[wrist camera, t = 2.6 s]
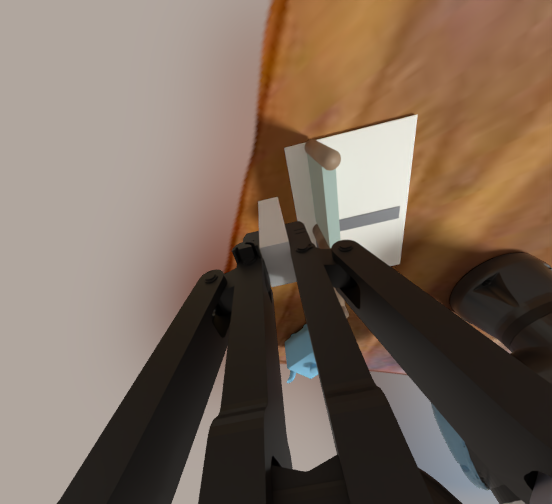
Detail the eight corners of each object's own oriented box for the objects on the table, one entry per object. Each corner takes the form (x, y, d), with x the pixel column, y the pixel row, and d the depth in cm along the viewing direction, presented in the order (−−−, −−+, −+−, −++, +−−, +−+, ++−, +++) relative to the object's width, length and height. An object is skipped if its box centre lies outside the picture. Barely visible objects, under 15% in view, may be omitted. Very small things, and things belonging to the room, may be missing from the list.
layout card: (398, 262, 36) (400, 264, 35) (308, 281, 37) (309, 283, 36) (415, 114, 24) (418, 114, 24) (284, 147, 25) (284, 148, 25)
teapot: (294, 355, 48) (299, 392, 42) (273, 345, 46) (275, 383, 40) (335, 327, 44) (348, 363, 37) (314, 314, 41) (324, 351, 35)
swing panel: (325, 218, 30) (345, 250, 23) (314, 221, 30) (330, 253, 23) (317, 137, 24) (340, 147, 18) (303, 141, 24) (320, 152, 18)
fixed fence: (333, 277, 36) (352, 319, 29) (319, 280, 36) (334, 322, 29) (328, 220, 30) (350, 254, 23) (311, 224, 30) (327, 259, 23)
